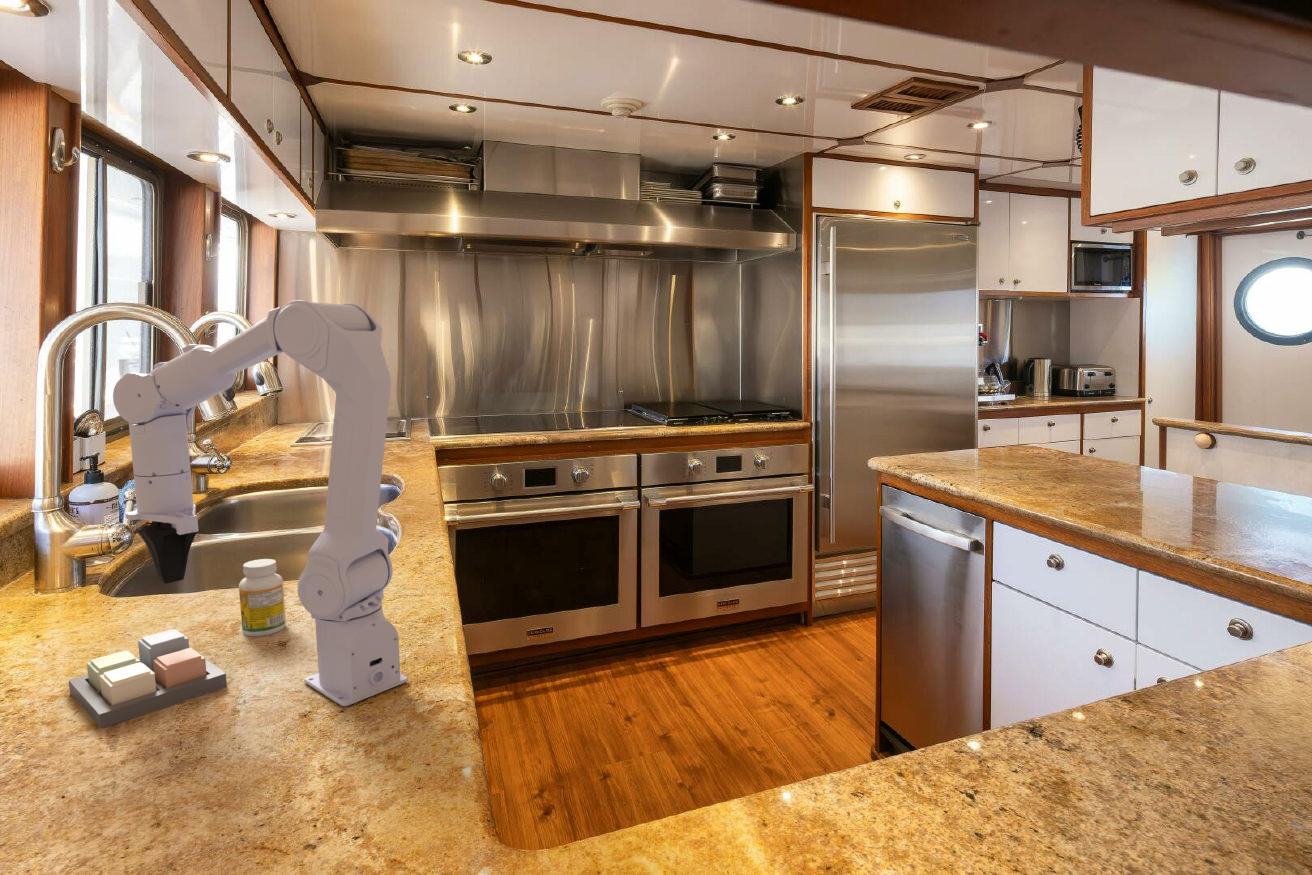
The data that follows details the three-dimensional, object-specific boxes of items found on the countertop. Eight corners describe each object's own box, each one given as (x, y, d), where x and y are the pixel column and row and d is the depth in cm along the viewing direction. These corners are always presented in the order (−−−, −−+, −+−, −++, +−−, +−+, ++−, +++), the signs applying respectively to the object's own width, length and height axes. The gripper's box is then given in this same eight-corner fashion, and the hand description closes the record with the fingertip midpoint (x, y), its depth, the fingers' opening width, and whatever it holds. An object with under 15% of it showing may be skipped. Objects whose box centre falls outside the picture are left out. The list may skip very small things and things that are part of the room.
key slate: (190, 663, 87) (188, 635, 86) (151, 675, 84) (148, 646, 83) (178, 654, 89) (176, 627, 89) (140, 665, 86) (137, 637, 86)
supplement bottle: (282, 634, 99) (277, 567, 97) (237, 639, 97) (232, 570, 96) (289, 620, 104) (284, 555, 103) (247, 624, 102) (242, 558, 101)
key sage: (142, 686, 83) (139, 657, 83) (99, 700, 80) (96, 670, 80) (131, 676, 86) (128, 648, 85) (89, 689, 82) (86, 660, 82)
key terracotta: (207, 684, 84) (204, 655, 83) (167, 697, 81) (164, 667, 80) (194, 674, 86) (192, 646, 86) (155, 686, 83) (152, 657, 83)
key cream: (157, 700, 80) (154, 670, 79) (113, 714, 77) (110, 683, 76) (145, 689, 82) (142, 660, 82) (102, 703, 79) (99, 672, 79)
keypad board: (226, 686, 84) (225, 673, 84) (100, 728, 75) (99, 714, 75) (188, 657, 92) (187, 645, 91) (69, 693, 82) (68, 679, 82)
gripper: (104, 470, 89) (115, 576, 91) (143, 485, 80) (154, 603, 82) (170, 462, 94) (179, 563, 96) (213, 476, 85) (222, 586, 87)
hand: (172, 580), depth 89 cm, fingers closed
